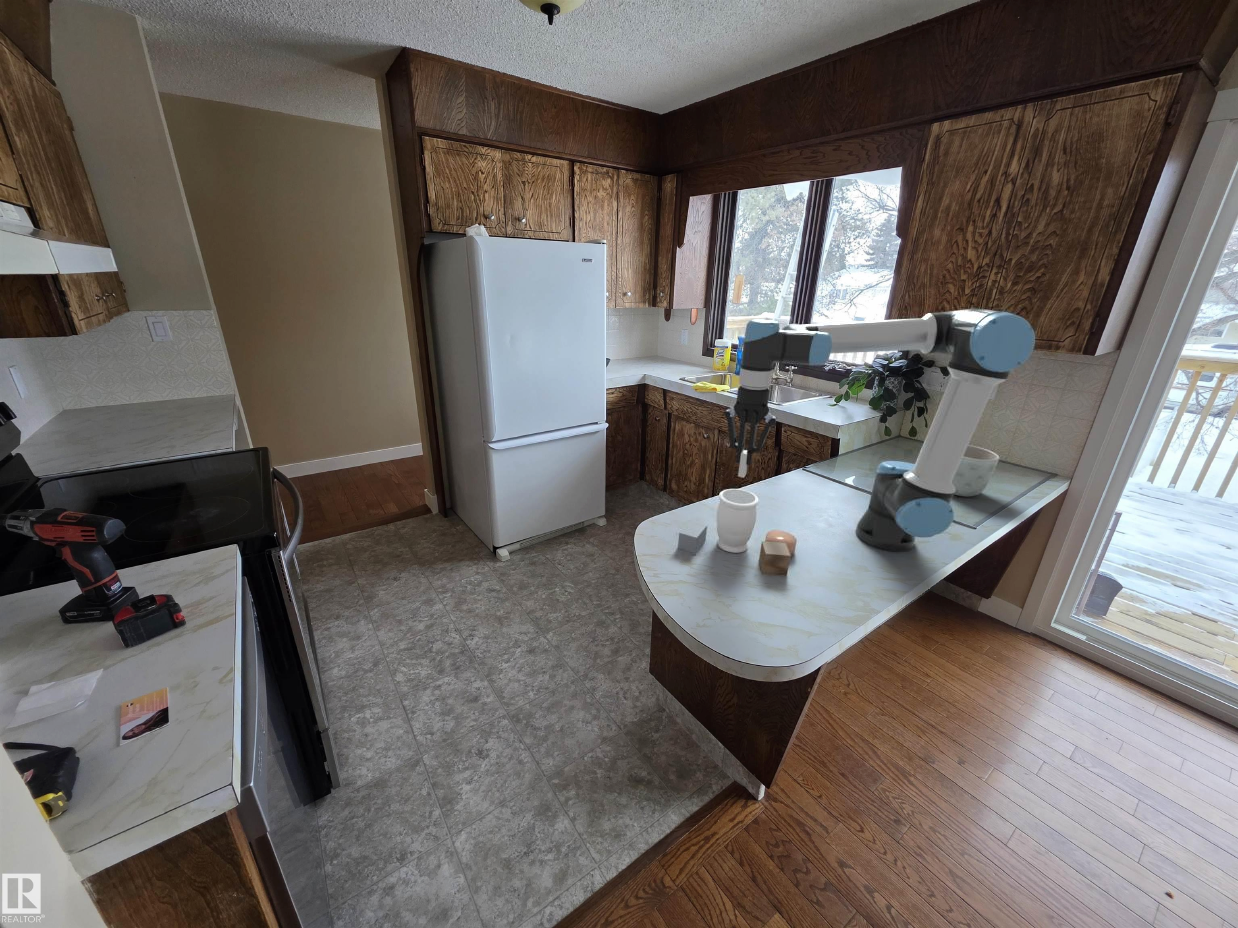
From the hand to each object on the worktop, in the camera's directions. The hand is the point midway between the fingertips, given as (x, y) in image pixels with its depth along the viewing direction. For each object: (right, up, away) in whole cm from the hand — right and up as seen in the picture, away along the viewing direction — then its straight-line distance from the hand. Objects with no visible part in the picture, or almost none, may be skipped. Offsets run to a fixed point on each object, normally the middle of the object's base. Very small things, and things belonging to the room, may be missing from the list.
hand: (742, 475), depth 130 cm
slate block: (-12, -19, +8) cm, 24 cm away
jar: (-1, -20, +8) cm, 21 cm away
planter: (+89, -7, +48) cm, 101 cm away
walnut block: (+7, -24, -2) cm, 25 cm away
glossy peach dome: (+12, -21, +7) cm, 25 cm away
